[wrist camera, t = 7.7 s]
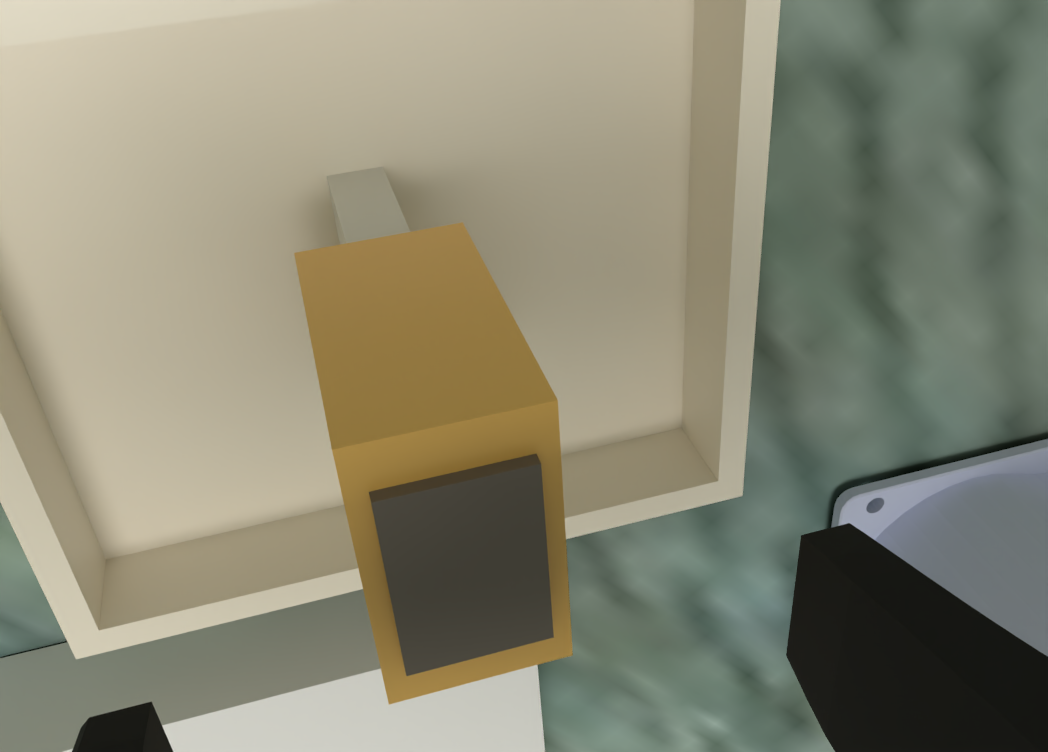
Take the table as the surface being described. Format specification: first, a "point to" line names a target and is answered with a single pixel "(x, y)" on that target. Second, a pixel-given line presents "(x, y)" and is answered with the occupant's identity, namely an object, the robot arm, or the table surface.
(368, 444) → the fuse
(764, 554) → the table surface
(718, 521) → the table surface
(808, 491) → the table surface
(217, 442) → the parts tray
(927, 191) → the table surface
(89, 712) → the fuse block
